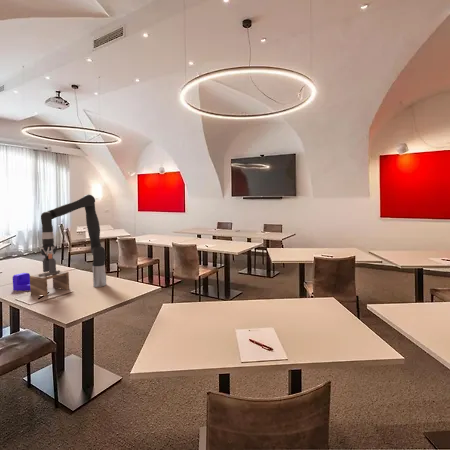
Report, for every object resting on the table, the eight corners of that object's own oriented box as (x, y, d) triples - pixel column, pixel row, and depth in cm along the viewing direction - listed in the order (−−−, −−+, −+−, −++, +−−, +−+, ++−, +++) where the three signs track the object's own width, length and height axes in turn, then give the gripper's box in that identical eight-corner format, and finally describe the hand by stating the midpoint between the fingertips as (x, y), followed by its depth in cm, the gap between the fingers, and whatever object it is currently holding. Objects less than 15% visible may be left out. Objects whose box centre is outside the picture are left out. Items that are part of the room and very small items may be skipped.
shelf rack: (55, 287, 237) (54, 268, 236) (69, 289, 231) (68, 270, 229) (30, 294, 219) (29, 274, 217) (45, 297, 212) (44, 276, 211)
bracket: (13, 290, 229) (12, 275, 228) (26, 286, 240) (25, 272, 239) (30, 292, 224) (29, 277, 223) (43, 288, 234) (42, 273, 233)
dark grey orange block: (48, 270, 227) (47, 253, 226) (56, 271, 224) (55, 253, 222) (43, 271, 223) (42, 253, 222) (51, 273, 220) (50, 254, 219)
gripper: (53, 236, 229) (54, 258, 231) (35, 238, 216) (36, 261, 218) (59, 237, 226) (60, 259, 228) (42, 239, 213) (43, 262, 215)
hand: (49, 260), depth 223 cm, fingers closed on dark grey orange block, 2 cm apart
